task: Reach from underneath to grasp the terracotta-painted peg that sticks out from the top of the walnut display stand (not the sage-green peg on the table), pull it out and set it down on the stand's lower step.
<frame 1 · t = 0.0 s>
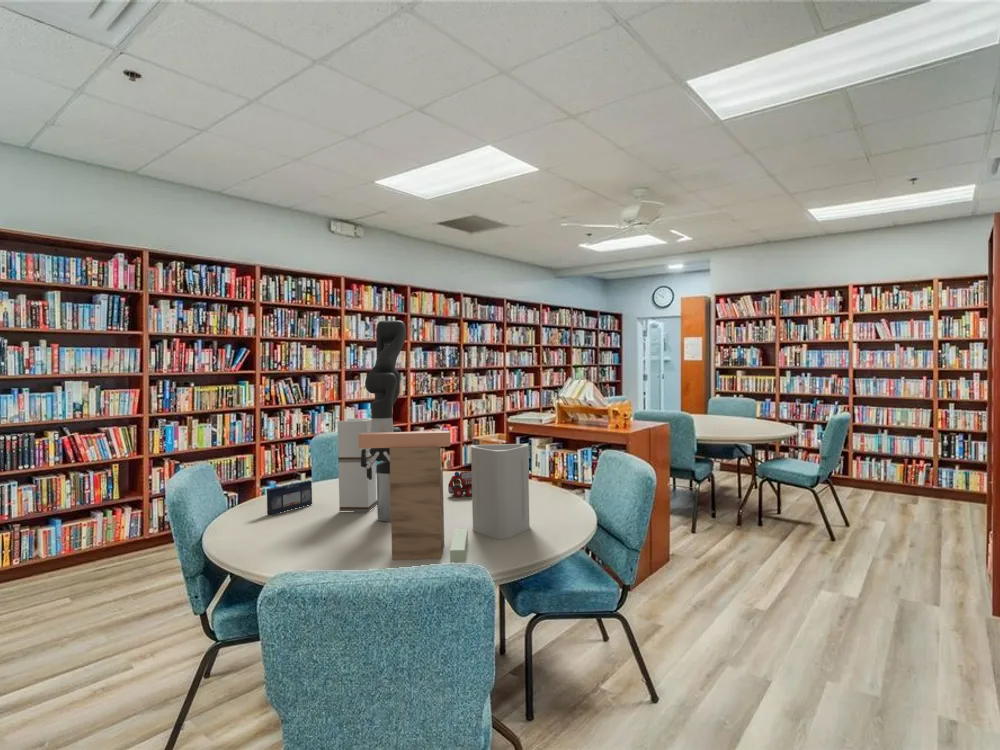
hand: (382, 479, 183), 17 cm above the table, tool pointing down, fingers open, 8 cm apart
display case: (358, 509, 211), on the table
walnut stand: (419, 551, 160), on the table
vhs cassette tape: (290, 510, 212), on the table
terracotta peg: (405, 446, 157), point 32 cm above the table, touching walnut stand
paper bag: (501, 532, 178), on the table
toy fire truck: (462, 495, 230), on the table
sage peg: (459, 552, 161), on the table
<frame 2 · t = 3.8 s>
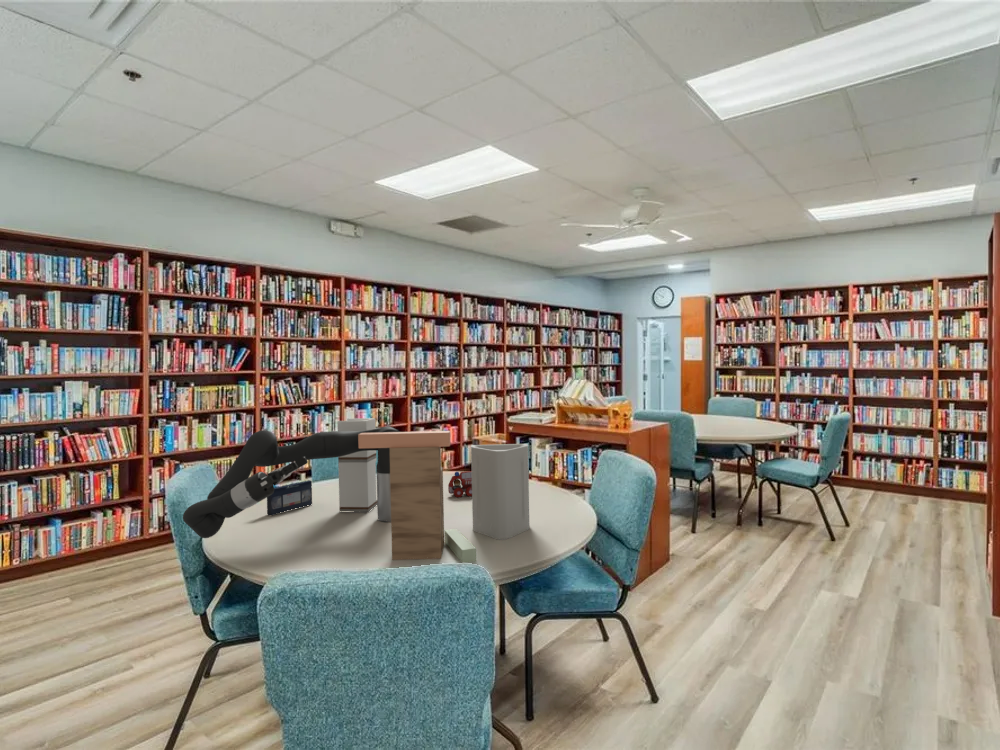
hand: (301, 461, 156), 28 cm above the table, tool pointing upward, fingers open, 8 cm apart
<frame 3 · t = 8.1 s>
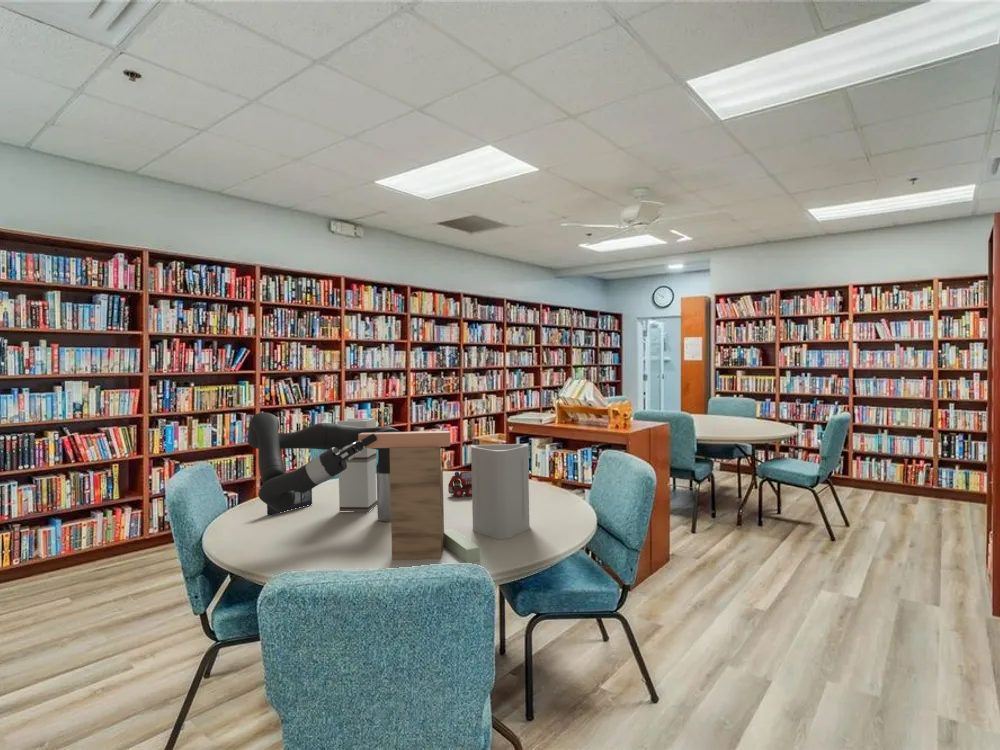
hand: (376, 435, 156), 35 cm above the table, tool pointing upward, fingers closed on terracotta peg, 4 cm apart
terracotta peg: (405, 446, 157), point 32 cm above the table, touching gripper, walnut stand
when the fingers open (28 cm above the table, at t = 13.9 s): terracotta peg stays where it is, resting on walnut stand.
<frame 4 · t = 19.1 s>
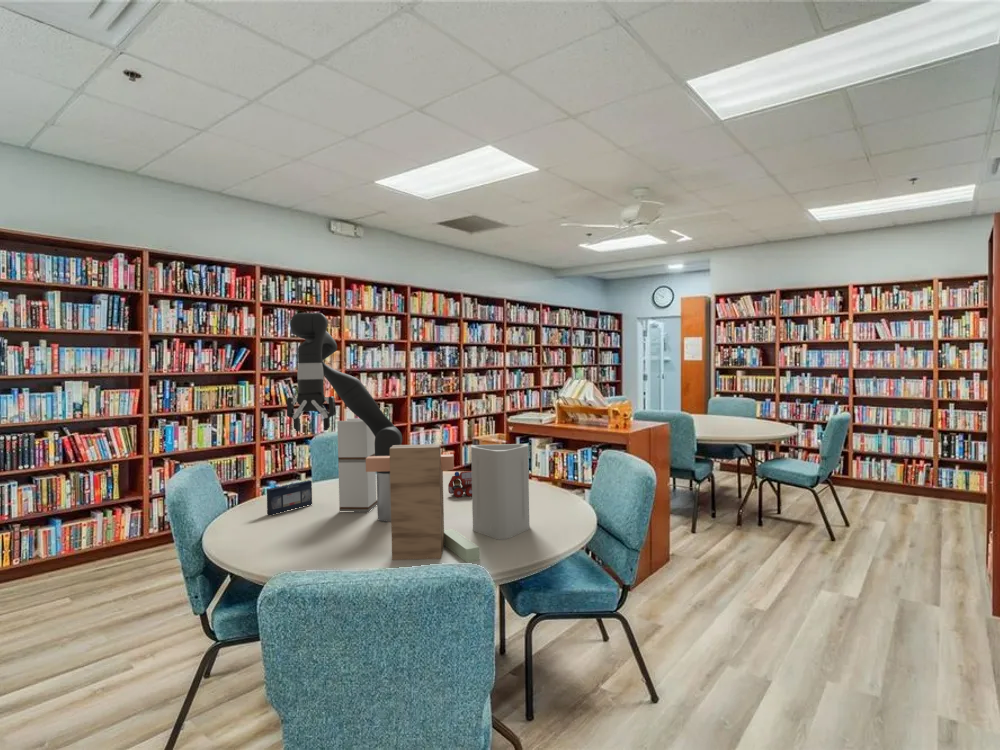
hand: (311, 430, 166), 36 cm above the table, tool pointing down, fingers open, 8 cm apart
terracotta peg: (410, 469, 163), point 24 cm above the table, touching walnut stand
everything else where it was.
at the end: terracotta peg inside the target area (0.0 cm from its centre), point 24.0 cm above the table; the gripper is holding nothing; sage peg moved 0.4 cm from its start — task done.
